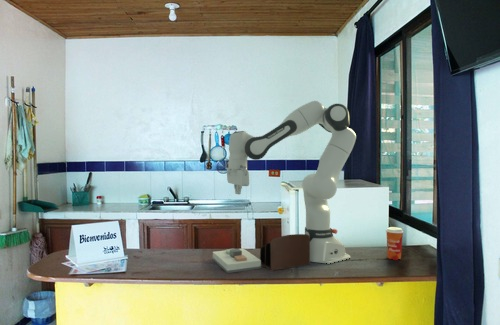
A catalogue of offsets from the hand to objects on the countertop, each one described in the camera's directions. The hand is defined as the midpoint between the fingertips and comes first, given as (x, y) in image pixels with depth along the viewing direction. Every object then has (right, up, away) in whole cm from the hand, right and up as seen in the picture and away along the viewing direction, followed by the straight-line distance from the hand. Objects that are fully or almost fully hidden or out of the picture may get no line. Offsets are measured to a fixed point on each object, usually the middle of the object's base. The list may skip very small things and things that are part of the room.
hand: (237, 194), depth 170 cm
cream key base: (0, -30, -13) cm, 32 cm away
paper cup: (+73, -30, -4) cm, 79 cm away
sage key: (-3, -28, -8) cm, 29 cm away
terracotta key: (+2, -28, -19) cm, 34 cm away
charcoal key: (0, -27, -14) cm, 30 cm away
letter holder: (+21, -30, -14) cm, 39 cm away
